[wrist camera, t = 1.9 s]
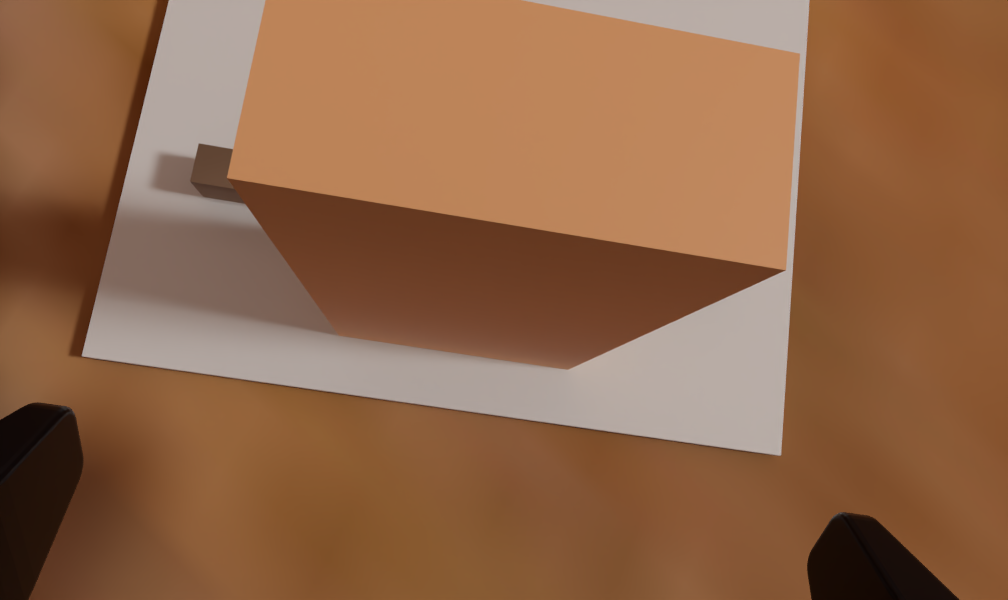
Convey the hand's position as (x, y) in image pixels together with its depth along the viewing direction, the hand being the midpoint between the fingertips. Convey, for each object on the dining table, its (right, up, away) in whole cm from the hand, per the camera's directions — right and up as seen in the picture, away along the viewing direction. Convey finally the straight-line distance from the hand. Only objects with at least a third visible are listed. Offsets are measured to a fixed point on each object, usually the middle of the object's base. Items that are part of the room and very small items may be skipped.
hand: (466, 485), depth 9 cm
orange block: (-1, +2, +11) cm, 11 cm away
